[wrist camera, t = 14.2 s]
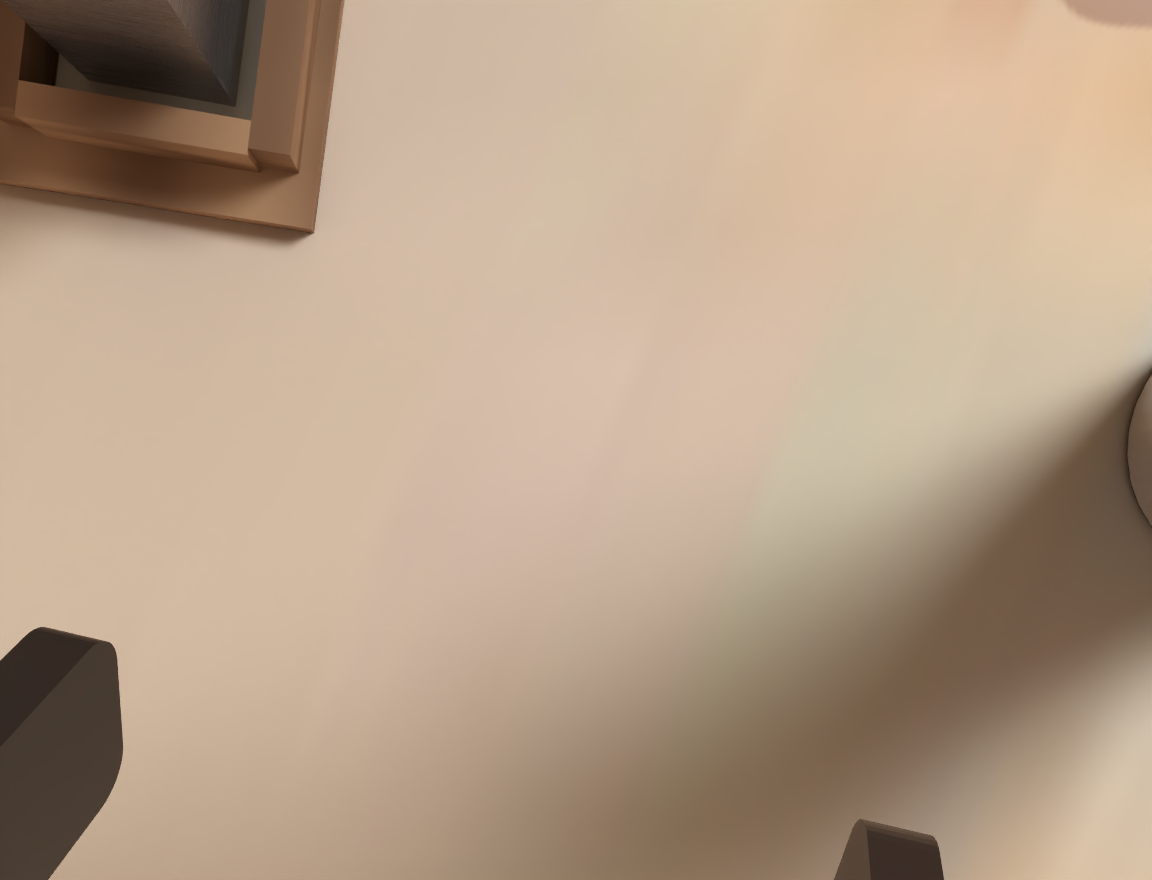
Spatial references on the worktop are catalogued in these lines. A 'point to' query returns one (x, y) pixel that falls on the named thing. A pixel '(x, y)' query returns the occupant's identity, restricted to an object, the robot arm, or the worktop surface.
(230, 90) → the grey tall block
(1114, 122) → the worktop surface
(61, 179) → the stand
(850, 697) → the worktop surface
